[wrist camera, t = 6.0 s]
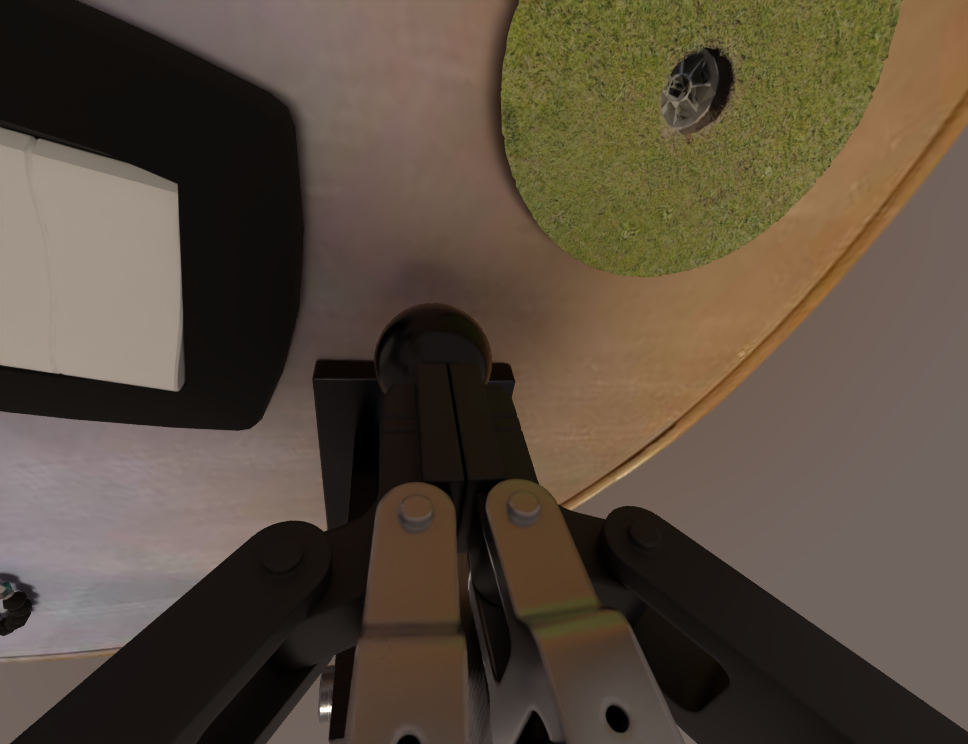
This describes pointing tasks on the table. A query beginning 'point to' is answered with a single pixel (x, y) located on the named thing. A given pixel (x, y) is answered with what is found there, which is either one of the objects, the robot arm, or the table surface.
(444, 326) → the switch lever
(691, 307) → the table surface
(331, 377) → the switch bracket
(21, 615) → the bracelet
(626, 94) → the mat
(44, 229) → the light switch
